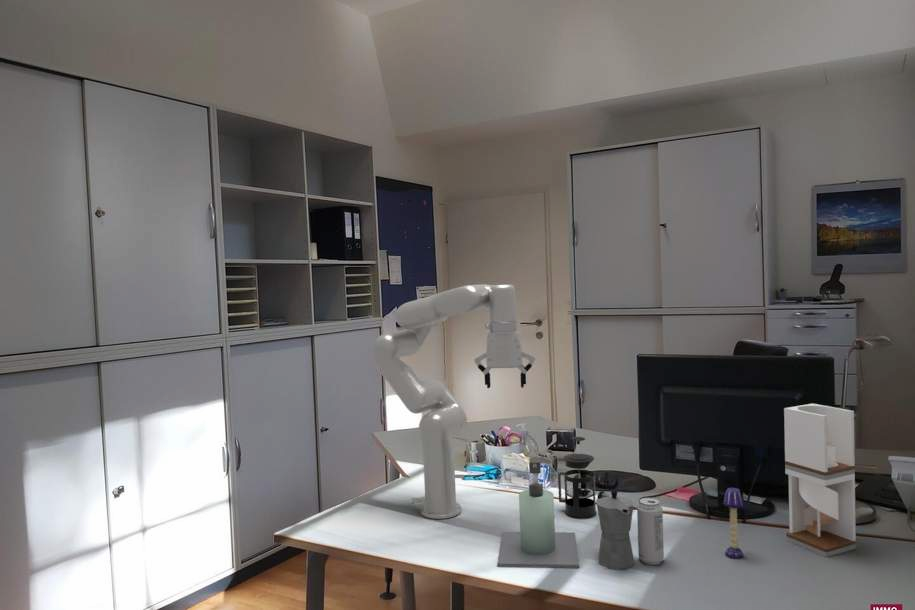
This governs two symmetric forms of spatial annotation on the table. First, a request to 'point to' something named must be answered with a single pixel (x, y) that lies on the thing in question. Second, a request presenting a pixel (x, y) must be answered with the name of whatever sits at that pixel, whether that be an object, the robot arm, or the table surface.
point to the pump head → (535, 467)
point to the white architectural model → (820, 478)
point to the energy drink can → (650, 531)
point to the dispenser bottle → (537, 535)
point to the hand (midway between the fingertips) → (505, 387)
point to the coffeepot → (615, 531)
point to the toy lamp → (733, 520)
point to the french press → (578, 486)
